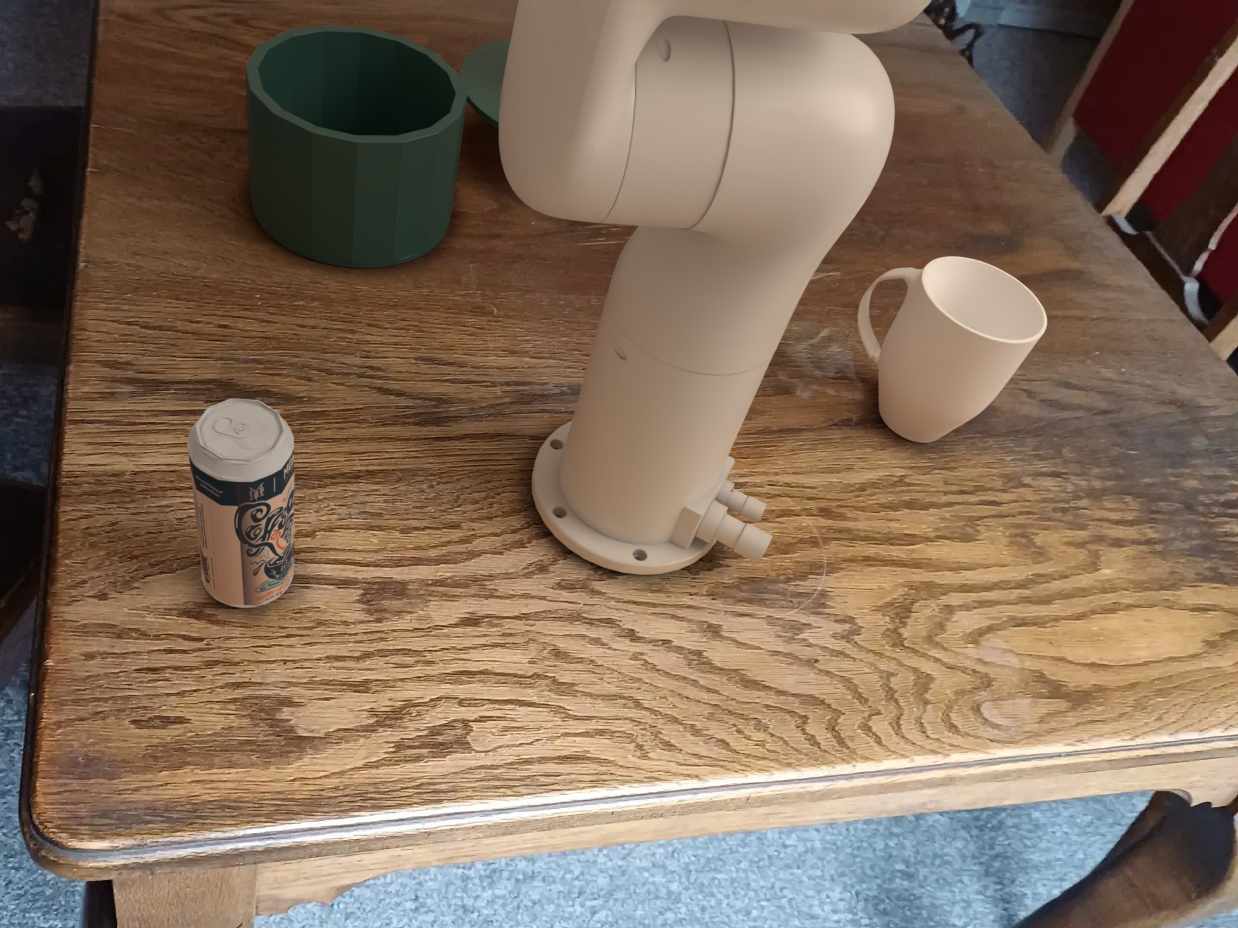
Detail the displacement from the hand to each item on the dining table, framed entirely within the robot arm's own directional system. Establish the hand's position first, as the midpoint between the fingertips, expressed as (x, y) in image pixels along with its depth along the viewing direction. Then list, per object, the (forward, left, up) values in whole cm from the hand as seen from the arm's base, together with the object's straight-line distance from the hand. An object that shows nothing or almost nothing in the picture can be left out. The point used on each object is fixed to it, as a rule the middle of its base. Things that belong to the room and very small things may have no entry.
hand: (559, 81), depth 86 cm
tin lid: (0, 0, -1) cm, 1 cm away
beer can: (-7, +47, -8) cm, 48 cm away
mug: (-35, +9, -8) cm, 37 cm away
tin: (+8, +16, -7) cm, 19 cm away
